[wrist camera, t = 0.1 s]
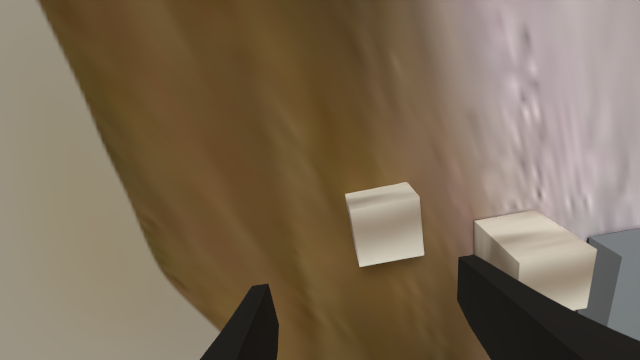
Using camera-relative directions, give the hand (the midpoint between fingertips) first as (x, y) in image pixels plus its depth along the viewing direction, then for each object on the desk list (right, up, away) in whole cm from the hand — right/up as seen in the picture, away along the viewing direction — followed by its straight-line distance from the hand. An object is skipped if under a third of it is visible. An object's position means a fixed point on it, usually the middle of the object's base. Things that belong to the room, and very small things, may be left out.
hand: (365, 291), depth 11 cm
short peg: (+3, +2, +10) cm, 11 cm away
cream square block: (+12, 0, +11) cm, 17 cm away
